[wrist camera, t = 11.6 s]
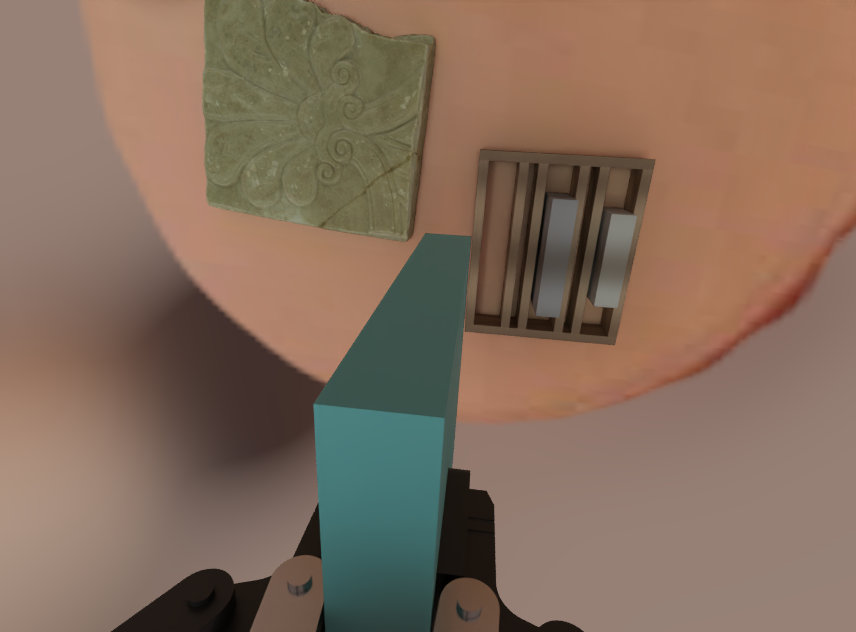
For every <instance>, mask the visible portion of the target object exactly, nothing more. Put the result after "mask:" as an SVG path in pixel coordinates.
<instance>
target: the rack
mask: <svg viewBox="0 0 856 632" xmlns="http://www.w3.org/2000/svg"><path fill="white" fill-rule="evenodd" d="M489 161H504V162H517V170H516V179H515V187H514V196H513V205H512V213H511V222H510V231H509V240H508V248H507V257H506V266H505V274H504V283H503V292H502V300H501V309H500V316H494V315H482V314H475V304H476V293H477V282H478V272H479V261H480V250H481V239H482V229H483V218H484V207H485V197H486V186H487V175H488V164H489ZM529 163H535V170H534V178H533V185H532V193H531V201H530V209H529V217H528V224H527V232H526V240H525V248H524V255H523V263H522V271H521V279H520V286H519V294H518V302H517V310H516V317H510V316H511V308H512V300H513V292H514V284H515V276H516V268H517V260H518V252H519V244H520V236H521V228H522V220H523V212H524V204H525V196H526V188H527V179H528V171H529ZM549 164H557V165H574V168H573V175H572V181H571V187H570V194H569V195H570V196H572V197H574V198H575V199H577V200H579V201H578V207H577V213H576V219H575V225H574V231H573V237H572V243H571V249H570V255H569V261H568V267H567V273H566V279H565V285H564V291H563V297H562V303H561V310H560V316H559V318H555V317H550V320H539V319H528V311H529V304H530V297H531V289H532V282H533V275H534V268H535V261H536V253H537V246H538V239H539V232H540V225H541V218H542V210H543V203H544V196H545V189H546V182H547V174H548V167H549ZM654 164H655V160H654V159H642V158H624V157H606V156H588V155H569V154H551V153H533V152H515V151H497V150H480V159H479V170H478V182H477V193H476V205H475V217H474V228H473V240H472V251H471V263H470V275H469V286H468V298H467V309H466V321H465V332H476V333H487V334H498V335H508V336H519V337H530V338H541V339H552V340H563V341H574V342H585V343H596V344H607V345H615V342H616V338H617V333H618V328H619V324H620V319H621V315H622V310H623V306H624V301H625V297H626V292H627V287H628V283H629V278H630V274H631V269H632V265H633V260H634V255H635V251H636V246H637V242H638V237H639V233H640V228H641V223H642V219H643V214H644V210H645V205H646V201H647V196H648V192H649V187H650V182H651V178H652V173H653V169H654ZM591 166H592V171H591V177H590V183H589V189H588V195H587V200H586V206H585V212H584V218H583V224H582V229H581V235H580V241H579V247H578V253H577V258H576V264H575V270H574V276H573V282H572V287H571V293H570V299H569V305H568V311H567V316H566V322H564V319H565V313H566V308H567V302H568V296H569V290H570V284H571V278H572V272H573V267H574V261H575V255H576V249H577V243H578V237H579V232H580V226H581V220H582V214H583V208H584V202H585V196H586V191H587V185H588V179H589V173H590V167H591ZM610 168H627V169H632V170H631V175H630V180H629V185H628V190H627V195H626V200H625V205H624V210H626V211H628V212H630V213H633V214H635V215H637V219H636V224H635V228H634V233H633V238H632V242H631V247H630V251H629V256H628V261H627V265H626V270H625V275H624V279H623V284H622V289H621V293H620V298H619V303H618V307H617V308H609V307H604V309H603V313H602V318H601V323H600V325H596V324H585V323H582V318H583V313H584V307H585V302H586V296H587V291H588V286H589V280H590V275H591V270H592V264H593V259H594V253H595V248H596V243H597V237H598V232H599V227H600V221H601V216H602V211H603V205H604V200H605V194H606V189H607V184H608V178H609V173H610Z"/></svg>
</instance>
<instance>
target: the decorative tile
mask: <svg viewBox="0 0 856 632" xmlns="http://www.w3.org/2000/svg"><path fill="white" fill-rule="evenodd" d="M204 43H205V68H204V71H203V113H204V117H205V129H206V141H205V170H206V176H207V189H206V195H207V202H208V204H209V206H213V207H216V208H221V209H226V210H231V211H236V212H241V213H246V214H251V215H256V216H261V217H265V218H270V219H275V220H280V221H286V222H292V223H297V224H303V225H309V226H314V227H320V228H323V229H327V230H334V231H339V232H345V233H351V234H358V235H364V236H371V237H377V238H383V239H390V240H396V241H407V240H409V238H410V237H411V236H412V234H413V228H414V220H415V213H416V202H417V195H418V189H419V181H420V172H421V163H422V162H421V160H422V153H423V145H424V138H425V132H426V125H427V118H428V107H429V98H430V89H431V83H432V74H433V66H434V56H435V46H436V45H435V38H434V37H433V36H431V35H417V34H411V35H403V36H398V37H396V38H390V37H388V36H382V35H380V34H377V33H373V32H372V31H371V30H370V29H369V28H367V27H362V26H361V25H359V24H357V23H355V22H354V21H352V20H351V19H349V18H346V17H344V16H341V15H332V14H330V13H329V12H328V11H327V10H326V9H324V8H321V7H318V6H317V5H316V4H315V3H313V2H309V1H306V0H205V5H204Z"/></svg>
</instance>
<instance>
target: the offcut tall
mask: <svg viewBox="0 0 856 632" xmlns="http://www.w3.org/2000/svg"><path fill="white" fill-rule="evenodd" d="M578 201H579V200H577V199H575V198H574V197H572V196H570V195H569V194H567V193H559V192H545V196H544V203H543V210H542V218H541V225H540V232H539V239H538V246H537V253H536V261H535V268H534V275H533V282H532V289H531V297H530V298H531V301H532V305H533V308H534V311H535V315H536V316H544V317H555V318H559V316H560V310H561V303H562V297H563V291H564V285H565V279H566V273H567V267H568V261H569V255H570V249H571V243H572V237H573V231H574V225H575V219H576V213H577V207H578Z"/></svg>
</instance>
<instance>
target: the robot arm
mask: <svg viewBox="0 0 856 632" xmlns="http://www.w3.org/2000/svg"><path fill="white" fill-rule="evenodd" d="M469 485H470V471H469V470H461V469H453V468H448V475H447V483H446V492H445V501H444V510H443V519H442V528H441V537H440V546H439V555H438V563H437V572H436V586H435V599H434V613H433V626H432V632H583V631H582V630H581V629H580V628H578V627H576V626H575V625H573V624H570V623H567V622H564V621H557V620H556V621H549V622H546V623H544V624H543V625H541V626H540V627H537V626H535V625H533V624H531V623H529V622H527V621H525V620H523V619H521V618H519V617H517V616H516V615H515V614H513V613H512V612H511V611H510V610H509V609H508V608H507V607H506V606H505V605H504V603H503V602H502V600H501V599H500V597H499V594H498V591H497V588H496V565H495V526H494V525H495V523H494V504H493V502H492V500H491V498H490V497H489V495H488V493H487V491H483V490H475V489H469ZM111 632H325V615H324V595H323V576H322V557H321V538H320V518H319V502H318V505H317V507H316V509H315V512H314V513H313V515H312V517H311V520H310V522H309V524H308V526H307V528H306V530H305V533H304V535H303V537H302V539H301V541H300V543H299V545H298V548H297V550H296V552H295V554H294V556H293V558H291V559H289V560H287V561H285V562H284V563H282V564H281V565H280V566H279V567H278V568H277V569H276V570H275V572H274V573H273V575H272V576H270V577H267V578H264V579H260V580H255V581H249V582H242V583H236V584H234V583H233V580H232V577H231V576H230V575H229V574H228V573H227V572H225V571H223V570H220V569H206V570H201V571H199V572H196V573H194V574H192V575H190V576H188V577H187V578H185V579H184V580H182V581H181V582H180V583H178V584H177V585H175V586H174V587H173V588H171V589H170V590H168V591H167V592H166V593H164V594H163V595H161V596H160V597H159V598H157V599H156V600H154V601H153V602H152V603H150V604H149V605H148V606H146V607H145V608H143V609H142V610H141V611H139V612H138V613H136V614H135V615H134V616H132V617H131V618H129V619H128V620H127V621H125V622H124V623H122V624H121V625H120V626H118V627H117V628H115V629H114V630H113V631H111Z"/></svg>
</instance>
